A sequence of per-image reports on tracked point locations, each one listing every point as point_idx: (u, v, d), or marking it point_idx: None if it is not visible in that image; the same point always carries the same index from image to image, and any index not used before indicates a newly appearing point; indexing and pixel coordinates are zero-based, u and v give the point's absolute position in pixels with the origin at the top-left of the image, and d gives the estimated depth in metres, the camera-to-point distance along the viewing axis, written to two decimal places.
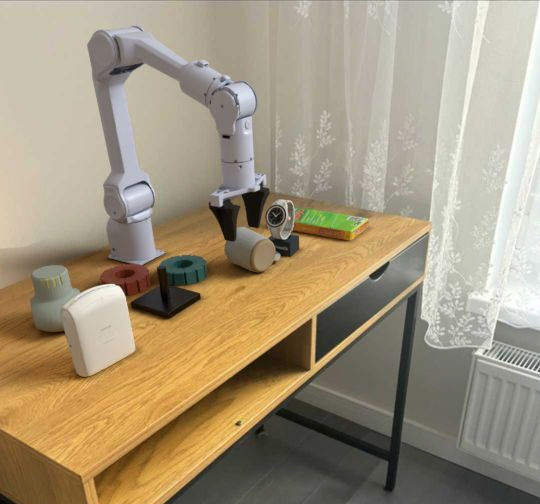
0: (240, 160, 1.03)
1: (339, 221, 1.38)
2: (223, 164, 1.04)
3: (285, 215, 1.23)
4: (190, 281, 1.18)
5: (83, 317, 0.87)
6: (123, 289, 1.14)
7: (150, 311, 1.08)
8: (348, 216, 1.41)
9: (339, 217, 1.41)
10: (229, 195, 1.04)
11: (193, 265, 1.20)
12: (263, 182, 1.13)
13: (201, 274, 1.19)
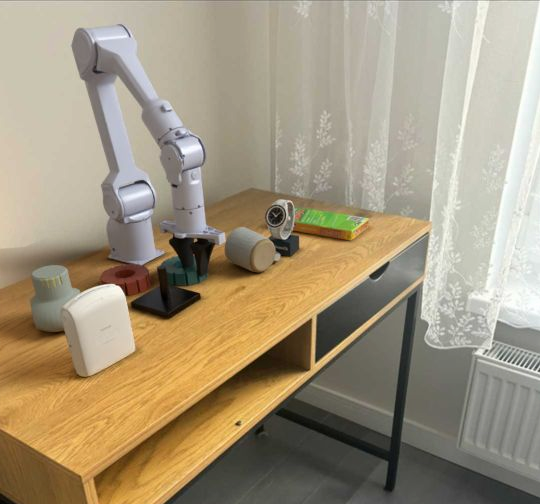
0: (187, 207, 1.10)
1: (339, 221, 1.38)
2: None
3: (285, 215, 1.23)
4: (191, 281, 1.18)
5: (83, 317, 0.87)
6: (123, 289, 1.14)
7: (150, 311, 1.08)
8: (348, 216, 1.41)
9: (340, 216, 1.41)
10: (166, 228, 1.17)
11: (194, 265, 1.20)
12: (215, 241, 1.12)
13: None
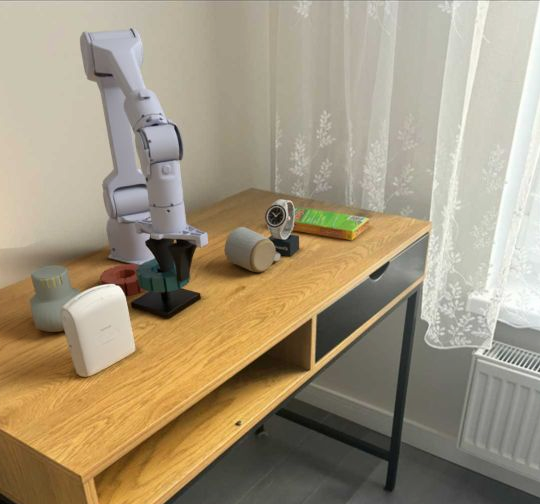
0: (158, 205, 0.98)
1: (340, 221, 1.38)
2: None
3: (285, 215, 1.23)
4: (170, 287, 1.05)
5: (83, 317, 0.87)
6: (123, 289, 1.14)
7: (150, 311, 1.08)
8: (348, 216, 1.41)
9: (340, 216, 1.41)
10: (142, 228, 1.04)
11: (174, 269, 1.07)
12: (196, 242, 0.99)
13: None
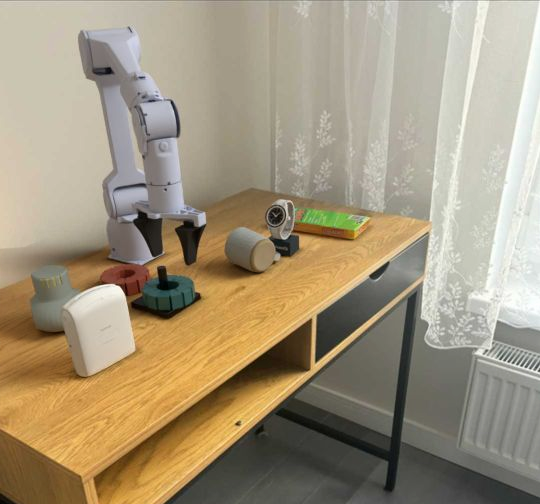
0: (155, 183, 0.96)
1: (341, 221, 1.38)
2: None
3: (285, 215, 1.23)
4: (176, 305, 1.07)
5: (83, 317, 0.87)
6: (123, 289, 1.14)
7: (150, 311, 1.08)
8: (349, 215, 1.42)
9: (341, 216, 1.41)
10: (139, 208, 1.02)
11: (179, 287, 1.09)
12: (194, 222, 0.98)
13: (188, 297, 1.08)
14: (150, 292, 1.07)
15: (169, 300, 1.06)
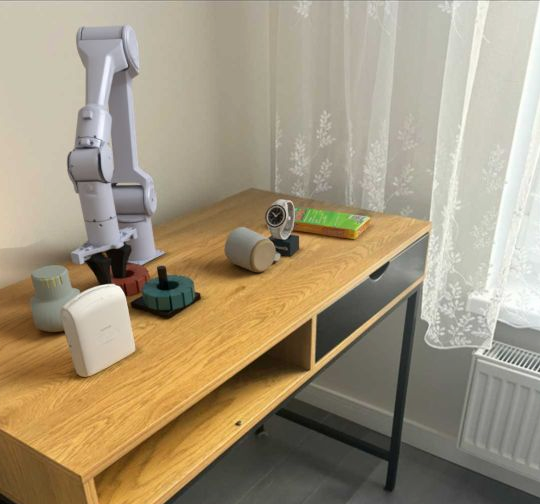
0: (85, 218, 1.07)
1: (342, 220, 1.39)
2: (85, 222, 1.08)
3: (285, 215, 1.23)
4: (176, 305, 1.07)
5: (83, 317, 0.87)
6: (122, 289, 1.14)
7: (150, 311, 1.08)
8: (349, 215, 1.42)
9: (341, 216, 1.41)
10: (90, 253, 1.07)
11: (179, 287, 1.09)
12: (133, 236, 1.16)
13: (188, 297, 1.08)
14: (150, 292, 1.07)
15: (169, 300, 1.06)
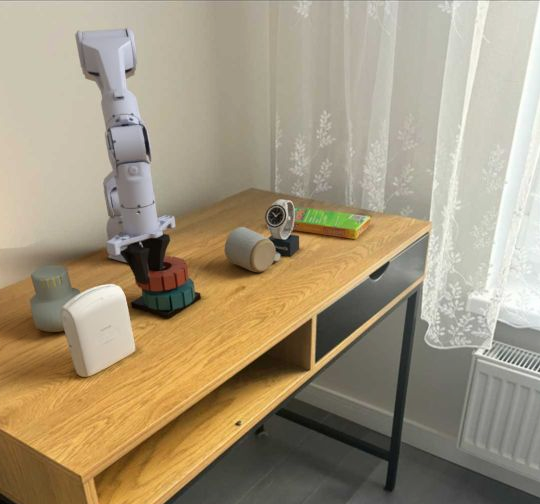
0: (125, 205, 0.97)
1: (342, 220, 1.39)
2: (121, 209, 0.98)
3: (285, 215, 1.23)
4: (176, 305, 1.07)
5: (83, 317, 0.87)
6: (160, 283, 1.05)
7: (150, 311, 1.08)
8: (350, 215, 1.42)
9: (341, 215, 1.42)
10: (127, 242, 0.98)
11: (179, 287, 1.09)
12: (171, 225, 1.06)
13: (188, 297, 1.08)
14: (150, 292, 1.07)
15: (169, 300, 1.06)
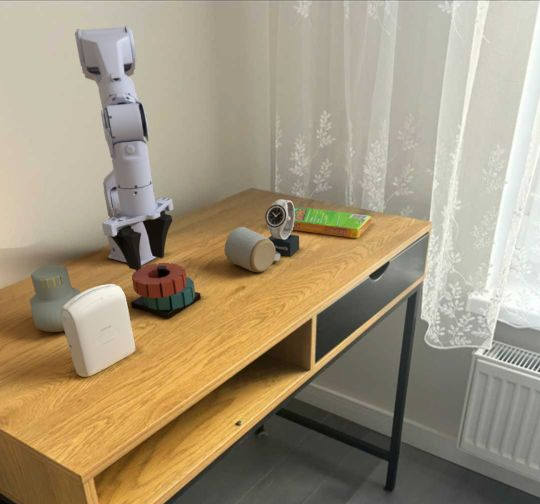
0: (122, 186, 0.95)
1: (343, 220, 1.39)
2: (118, 190, 0.97)
3: (285, 215, 1.23)
4: (176, 305, 1.07)
5: (83, 317, 0.87)
6: (158, 290, 1.05)
7: (150, 311, 1.08)
8: (350, 214, 1.42)
9: (342, 215, 1.42)
10: (124, 223, 0.96)
11: None
12: (169, 207, 1.05)
13: (188, 297, 1.08)
14: None
15: (169, 300, 1.06)
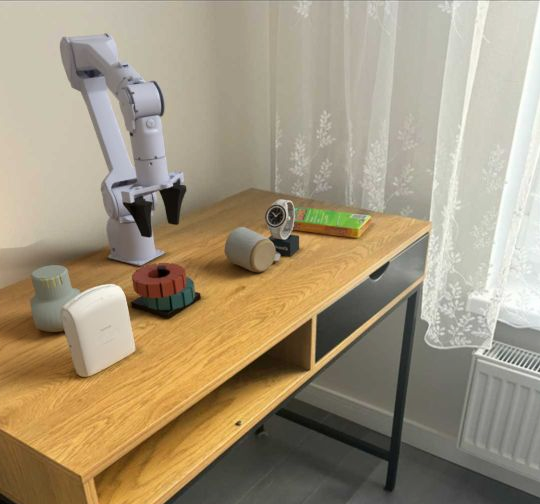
0: (143, 158, 1.06)
1: (343, 220, 1.39)
2: (135, 161, 1.07)
3: (285, 215, 1.23)
4: (176, 305, 1.07)
5: (83, 317, 0.87)
6: (158, 290, 1.05)
7: (150, 311, 1.08)
8: (350, 214, 1.42)
9: (342, 215, 1.42)
10: (140, 191, 1.07)
11: None
12: (180, 180, 1.15)
13: (188, 297, 1.08)
14: None
15: (169, 300, 1.06)
